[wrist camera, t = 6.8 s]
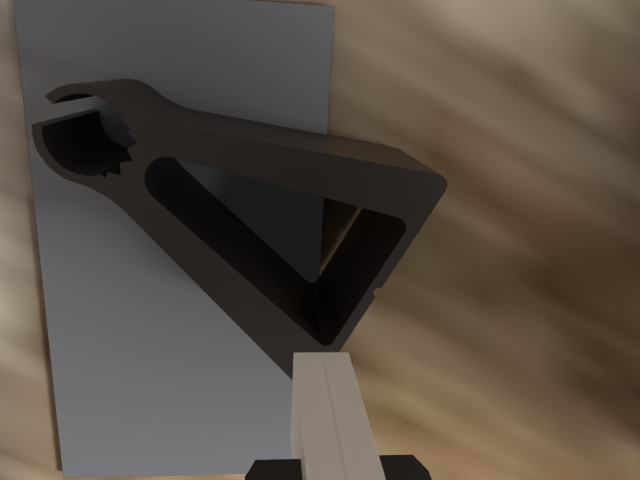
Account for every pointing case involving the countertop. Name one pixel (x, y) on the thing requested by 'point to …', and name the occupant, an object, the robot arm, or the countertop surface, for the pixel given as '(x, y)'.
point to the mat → (145, 254)
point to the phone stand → (226, 228)
